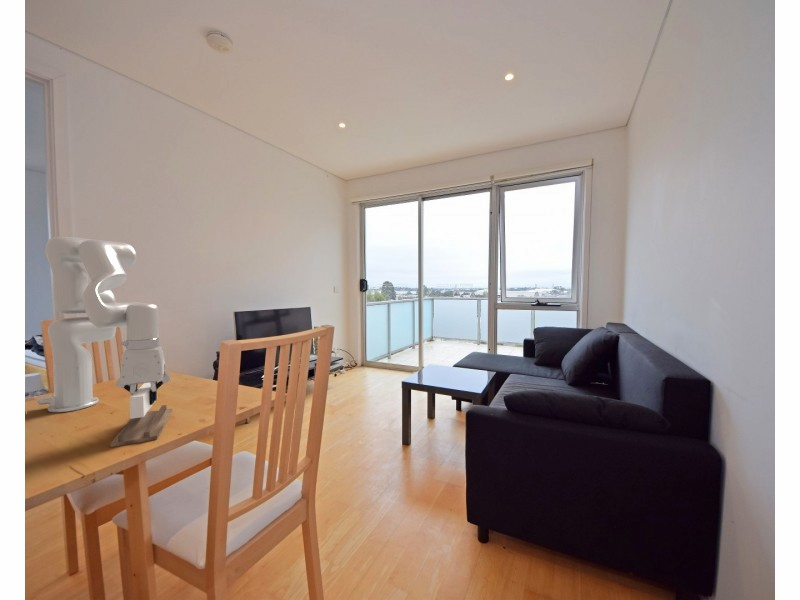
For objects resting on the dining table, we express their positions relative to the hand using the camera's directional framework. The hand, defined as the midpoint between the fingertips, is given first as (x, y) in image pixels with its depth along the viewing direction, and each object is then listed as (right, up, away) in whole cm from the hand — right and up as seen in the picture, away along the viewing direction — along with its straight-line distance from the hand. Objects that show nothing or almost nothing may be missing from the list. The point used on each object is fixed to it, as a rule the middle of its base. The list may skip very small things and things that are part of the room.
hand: (144, 403), depth 95 cm
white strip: (0, -1, 0) cm, 1 cm away
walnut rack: (0, -7, 0) cm, 7 cm away
